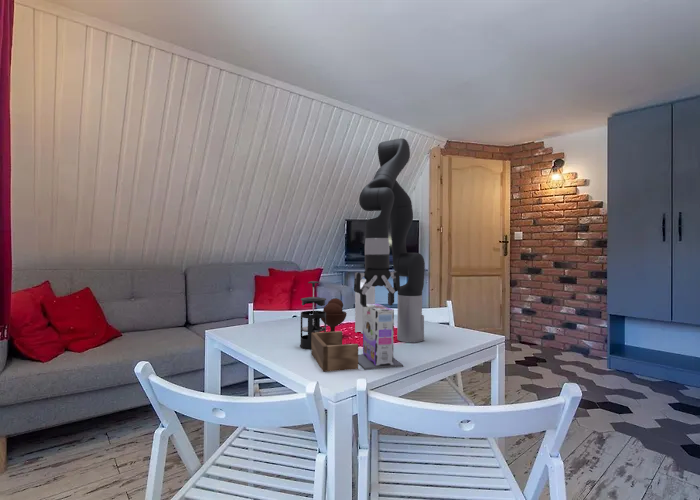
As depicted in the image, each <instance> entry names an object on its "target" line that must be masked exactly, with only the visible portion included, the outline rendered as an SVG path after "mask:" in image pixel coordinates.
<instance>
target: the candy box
mask: <svg viewBox="0 0 700 500" xmlns="http://www.w3.org/2000/svg"><path fill="white" fill-rule="evenodd" d="M394 313H395V310H394V309H393V308H390V307H388V306H385V305H382V304H381V303H375V304H366V307H363V333H362V354H363V355H364V356H365V357H366V358H368V359H369V360H370V361H371V362H372V363H373V364H374V365H376V366H379V365H393V358H394V335H395V334H394V332H395V331H394V329H395V328H394V324H395V321H394V319H395V318H394V317H395V315H394Z"/></svg>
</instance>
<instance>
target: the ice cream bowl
mask: <svg viewBox="0 0 700 500" xmlns="http://www.w3.org/2000/svg"><path fill="white" fill-rule="evenodd" d="M343 307H344V303H343V300H341V299H340V298H336V297H335V298H331V299H330V300H328V302H327V304H325V305H324V307H323V310H322V311H324V312H326V326H328V327H329V328H330V329H329V330H330V331H329V332H334V331H336V327H337V326H339V325H340V324H342V323H343V322H344V321H345V319H346V318H347V314H348V313H347V312H346V311H343ZM320 321H321V322H322V323H324V324H325V317H324V318H320Z"/></svg>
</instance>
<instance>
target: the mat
mask: <svg viewBox="0 0 700 500" xmlns="http://www.w3.org/2000/svg"><path fill="white" fill-rule="evenodd" d="M358 366H360V367H361V368H362V369H363V370H364V371H367V370H379V369H381V370H382V369H390V368H391V369H394V368H403V367H404V364H403V363H401V362H400V361H399V360H398V359H396V358H395V357H393V365H379V366H376V365H374V364H373V363H372V362H371V361H370V360H369V359H368V358H366V357H365V356H364V355H363V353H362V354H359V353H358Z"/></svg>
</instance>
